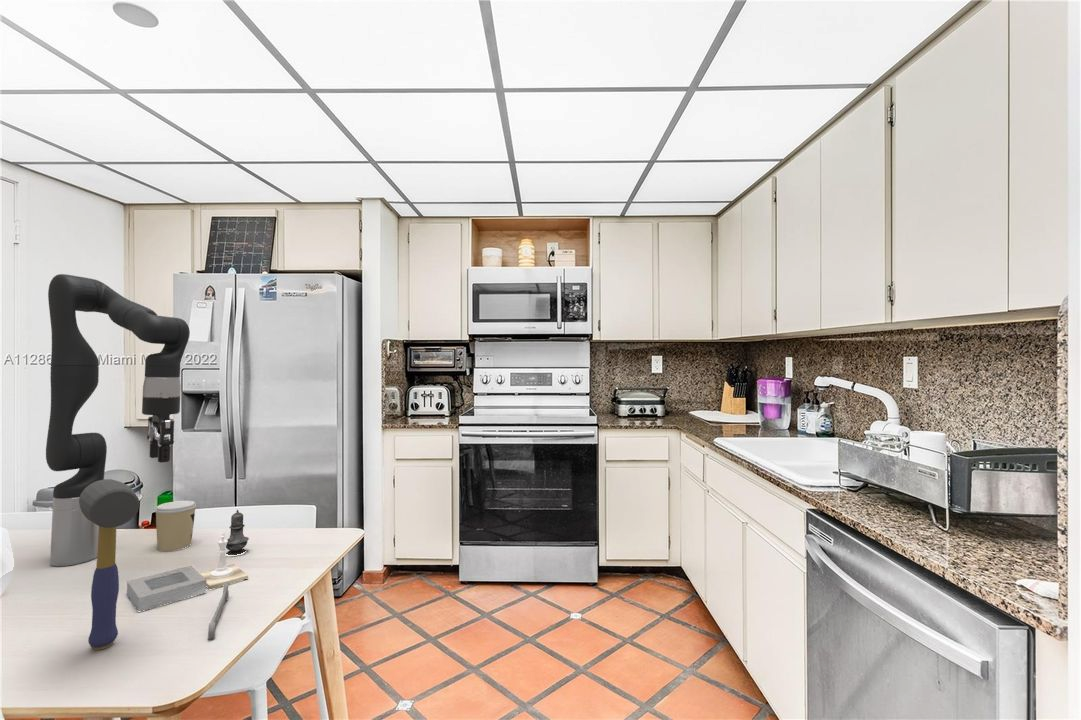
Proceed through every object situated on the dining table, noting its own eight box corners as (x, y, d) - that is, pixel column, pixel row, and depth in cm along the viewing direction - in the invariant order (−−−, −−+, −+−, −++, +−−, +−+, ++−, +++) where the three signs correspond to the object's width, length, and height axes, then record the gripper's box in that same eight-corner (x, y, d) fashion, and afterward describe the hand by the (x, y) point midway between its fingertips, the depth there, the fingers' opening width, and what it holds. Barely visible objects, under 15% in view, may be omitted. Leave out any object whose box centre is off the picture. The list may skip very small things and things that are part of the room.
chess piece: (208, 580, 114) (209, 537, 115) (211, 572, 119) (212, 531, 119) (232, 576, 117) (234, 534, 117) (234, 569, 121) (236, 528, 121)
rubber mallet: (69, 642, 89) (76, 480, 90) (122, 626, 95) (128, 474, 96) (80, 669, 81) (88, 491, 82) (137, 650, 87) (143, 483, 88)
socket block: (126, 594, 108) (127, 581, 109) (190, 577, 118) (191, 565, 118) (138, 612, 101) (139, 597, 101) (205, 593, 110) (206, 579, 110)
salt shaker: (236, 558, 131) (238, 513, 131) (218, 556, 132) (219, 511, 132) (253, 550, 136) (254, 507, 137) (235, 548, 137) (237, 506, 138)
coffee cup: (200, 545, 139) (202, 503, 140) (161, 555, 132) (163, 510, 132) (186, 538, 144) (187, 498, 145) (148, 548, 137) (149, 505, 137)
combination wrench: (214, 624, 91) (232, 579, 109) (206, 625, 91) (226, 580, 109) (213, 643, 91) (232, 595, 109) (205, 645, 91) (225, 596, 109)
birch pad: (196, 577, 118) (196, 573, 118) (233, 568, 124) (233, 564, 124) (209, 590, 111) (209, 585, 111) (248, 579, 117) (248, 575, 117)
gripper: (136, 394, 123) (133, 458, 123) (149, 396, 114) (147, 465, 114) (172, 393, 129) (170, 454, 129) (187, 396, 120) (185, 461, 119)
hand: (159, 459), depth 121 cm, fingers open, 8 cm apart
